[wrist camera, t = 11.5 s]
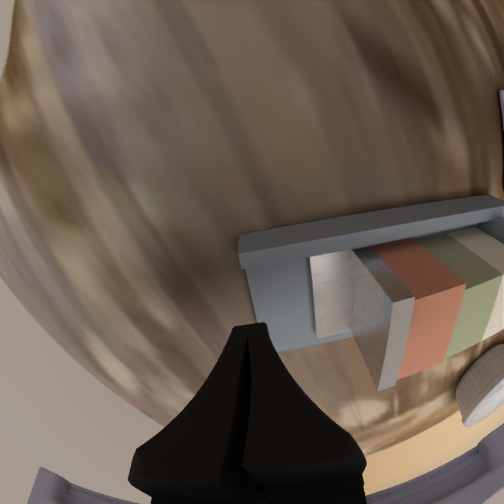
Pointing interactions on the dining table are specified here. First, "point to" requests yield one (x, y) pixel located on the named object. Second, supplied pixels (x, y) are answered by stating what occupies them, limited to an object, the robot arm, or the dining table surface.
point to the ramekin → (482, 387)
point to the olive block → (467, 289)
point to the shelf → (334, 240)
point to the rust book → (424, 301)
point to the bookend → (363, 308)
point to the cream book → (496, 256)
